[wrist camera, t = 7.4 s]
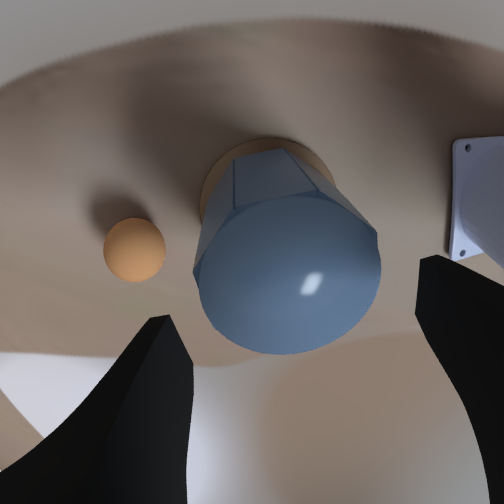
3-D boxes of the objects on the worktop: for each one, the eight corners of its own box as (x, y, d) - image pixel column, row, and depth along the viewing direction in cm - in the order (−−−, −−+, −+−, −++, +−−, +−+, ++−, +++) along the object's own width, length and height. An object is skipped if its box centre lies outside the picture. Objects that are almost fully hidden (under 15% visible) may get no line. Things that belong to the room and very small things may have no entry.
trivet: (325, 126, 15) (327, 127, 14) (341, 250, 18) (343, 253, 18) (184, 156, 15) (183, 158, 15) (220, 276, 18) (220, 280, 18)
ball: (159, 201, 16) (144, 226, 13) (178, 255, 17) (168, 288, 15) (106, 216, 16) (83, 243, 13) (127, 266, 18) (110, 299, 15)
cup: (317, 141, 15) (378, 181, 8) (331, 246, 17) (379, 333, 11) (198, 166, 15) (173, 224, 9) (227, 269, 18) (226, 366, 11)
